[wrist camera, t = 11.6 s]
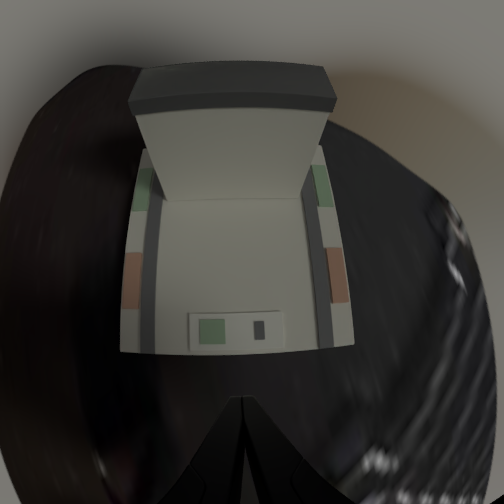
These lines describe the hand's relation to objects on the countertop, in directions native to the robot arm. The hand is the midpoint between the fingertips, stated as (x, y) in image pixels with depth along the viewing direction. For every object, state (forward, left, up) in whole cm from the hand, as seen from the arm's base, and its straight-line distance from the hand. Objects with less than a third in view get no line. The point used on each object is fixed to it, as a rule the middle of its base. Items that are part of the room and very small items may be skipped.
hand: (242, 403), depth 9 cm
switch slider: (+14, 0, -8) cm, 17 cm away
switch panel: (+10, 0, -10) cm, 14 cm away
